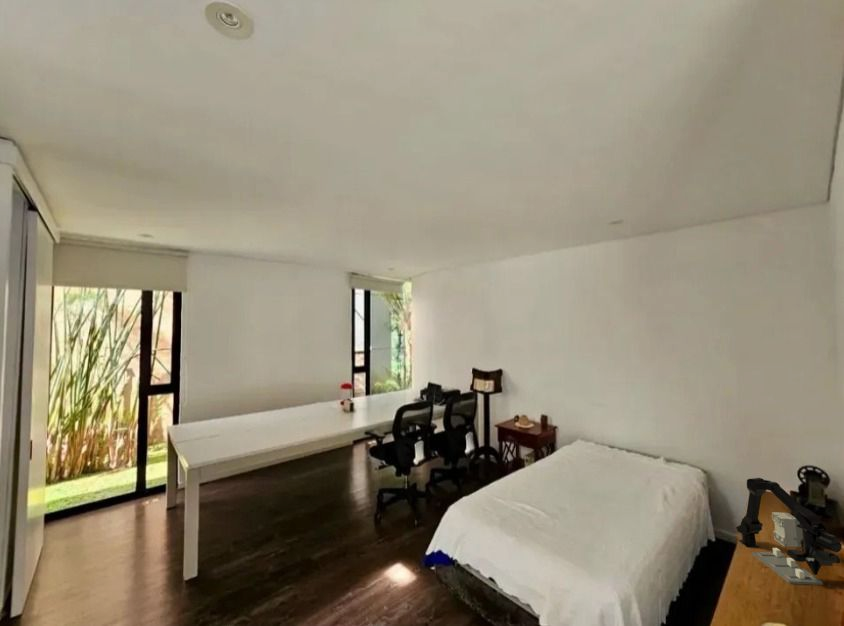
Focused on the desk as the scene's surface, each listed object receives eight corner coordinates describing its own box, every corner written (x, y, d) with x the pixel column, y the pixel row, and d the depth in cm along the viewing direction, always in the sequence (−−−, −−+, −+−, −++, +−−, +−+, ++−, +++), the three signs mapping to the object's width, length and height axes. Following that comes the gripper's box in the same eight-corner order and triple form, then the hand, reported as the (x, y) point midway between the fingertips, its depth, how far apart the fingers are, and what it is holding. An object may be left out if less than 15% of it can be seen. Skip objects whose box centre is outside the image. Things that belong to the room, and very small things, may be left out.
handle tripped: (795, 575, 180) (795, 568, 180) (800, 575, 180) (799, 568, 180) (800, 578, 178) (799, 571, 178) (804, 578, 177) (804, 571, 177)
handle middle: (787, 564, 188) (786, 557, 189) (791, 564, 188) (791, 557, 188) (791, 567, 186) (790, 560, 186) (795, 567, 186) (795, 560, 186)
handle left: (773, 554, 197) (772, 547, 198) (777, 554, 197) (776, 547, 197) (776, 556, 195) (776, 550, 195) (781, 556, 195) (780, 550, 195)
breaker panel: (752, 554, 200) (751, 551, 200) (781, 555, 198) (781, 552, 198) (789, 583, 177) (789, 580, 177) (822, 585, 175) (822, 582, 175)
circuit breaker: (814, 548, 203) (811, 519, 204) (784, 546, 206) (781, 518, 207) (803, 540, 210) (800, 513, 211) (774, 539, 213) (771, 512, 214)
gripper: (804, 549, 172) (807, 584, 171) (850, 550, 170) (854, 586, 169) (784, 536, 183) (787, 569, 182) (827, 537, 181) (831, 571, 180)
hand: (815, 574), depth 178 cm, fingers closed
